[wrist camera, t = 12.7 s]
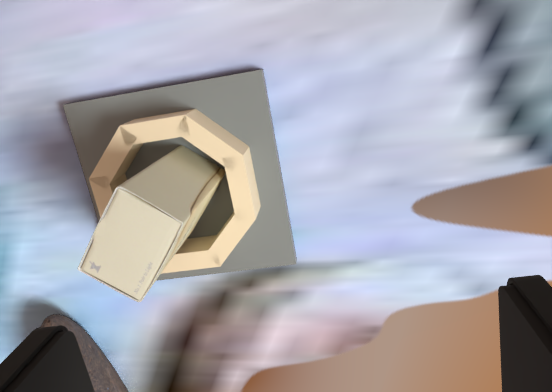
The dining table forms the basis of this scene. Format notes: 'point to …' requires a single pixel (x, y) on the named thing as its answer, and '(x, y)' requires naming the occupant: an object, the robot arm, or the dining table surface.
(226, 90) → the collar board
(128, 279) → the skincare box
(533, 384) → the robot arm
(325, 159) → the dining table surface
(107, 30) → the dining table surface
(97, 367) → the perforated stone tool
